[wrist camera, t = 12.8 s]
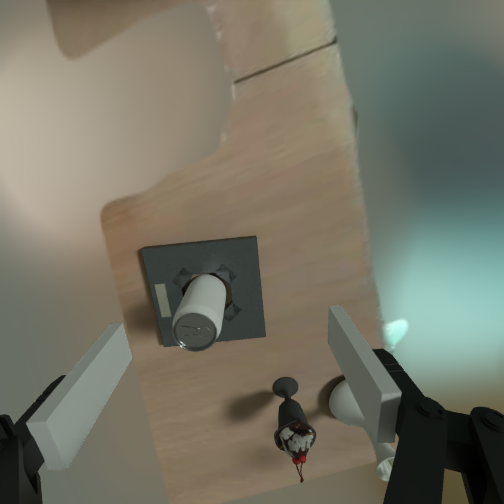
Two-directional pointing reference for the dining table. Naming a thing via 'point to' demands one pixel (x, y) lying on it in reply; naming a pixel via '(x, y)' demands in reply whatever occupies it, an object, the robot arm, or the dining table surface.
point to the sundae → (292, 424)
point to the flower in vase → (351, 415)
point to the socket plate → (208, 261)
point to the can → (200, 314)
